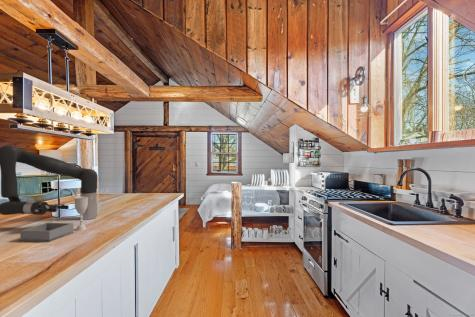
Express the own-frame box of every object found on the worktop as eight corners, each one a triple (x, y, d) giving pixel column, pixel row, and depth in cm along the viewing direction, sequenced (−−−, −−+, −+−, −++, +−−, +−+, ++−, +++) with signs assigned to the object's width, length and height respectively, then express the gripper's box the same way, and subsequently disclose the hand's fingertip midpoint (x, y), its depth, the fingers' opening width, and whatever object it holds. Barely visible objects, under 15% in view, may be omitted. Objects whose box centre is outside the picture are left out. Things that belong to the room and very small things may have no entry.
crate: (47, 231, 131) (47, 222, 131) (73, 232, 130) (73, 223, 130) (20, 240, 116) (20, 230, 116) (49, 241, 115) (49, 231, 115)
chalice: (76, 231, 131) (76, 198, 132) (71, 229, 135) (71, 197, 136) (90, 228, 137) (91, 197, 137) (85, 226, 141) (86, 196, 142)
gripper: (24, 203, 132) (51, 204, 130) (46, 199, 146) (72, 200, 144) (23, 217, 131) (51, 218, 130) (46, 212, 146) (71, 212, 144)
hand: (62, 208), depth 137 cm, fingers open, 8 cm apart
